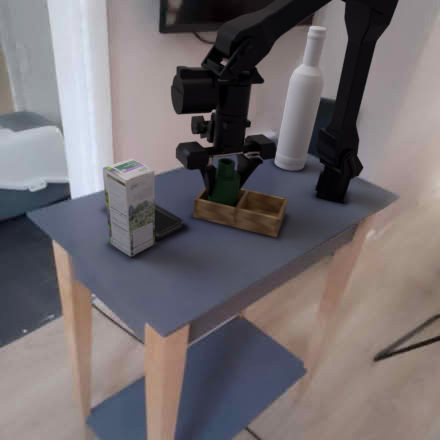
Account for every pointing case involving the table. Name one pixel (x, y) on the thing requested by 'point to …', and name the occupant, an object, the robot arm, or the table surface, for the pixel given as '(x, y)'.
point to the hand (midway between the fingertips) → (223, 192)
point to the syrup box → (130, 206)
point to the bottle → (301, 105)
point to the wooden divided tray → (244, 211)
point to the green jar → (226, 183)
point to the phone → (166, 223)
